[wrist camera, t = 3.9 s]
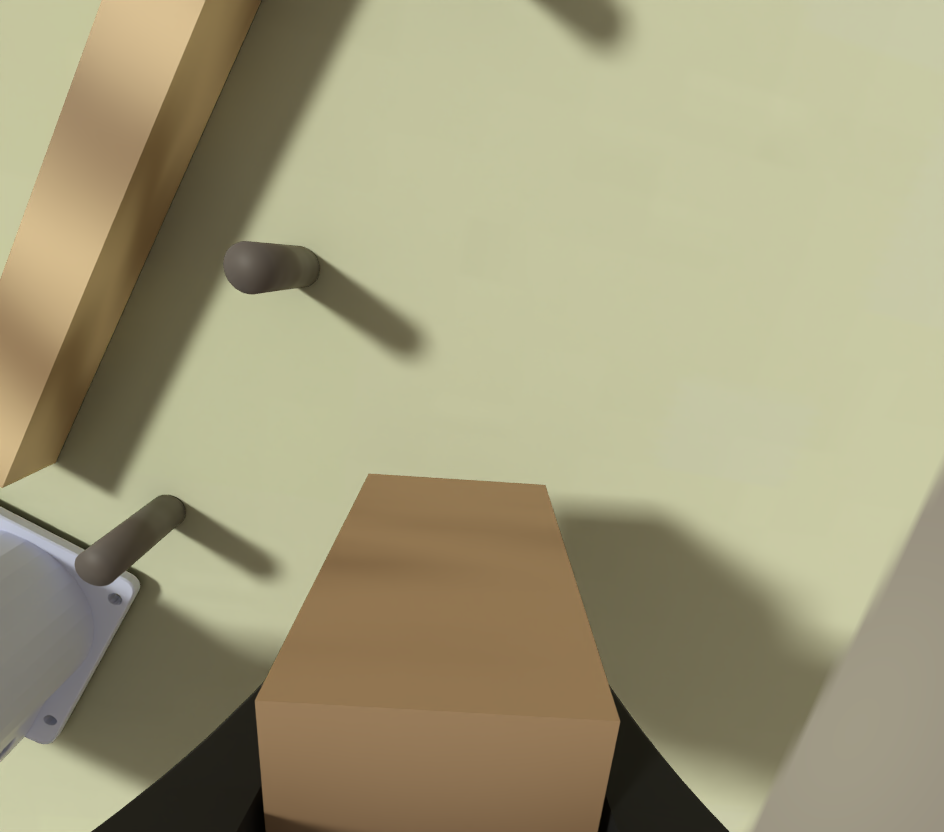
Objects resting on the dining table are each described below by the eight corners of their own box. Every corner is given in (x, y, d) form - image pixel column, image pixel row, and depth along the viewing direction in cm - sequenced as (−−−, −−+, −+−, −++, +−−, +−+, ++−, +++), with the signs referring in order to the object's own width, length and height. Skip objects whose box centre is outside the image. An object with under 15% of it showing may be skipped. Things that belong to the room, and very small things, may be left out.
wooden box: (518, 721, 13) (551, 1073, 7) (367, 712, 13) (284, 1060, 7) (547, 485, 11) (624, 721, 5) (368, 473, 11) (254, 700, 5)
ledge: (177, 530, 18) (107, 593, 14) (-2, 434, 17) (-123, 477, 13) (517, -85, 12) (532, -213, 9) (284, -284, 11) (203, -513, 8)
